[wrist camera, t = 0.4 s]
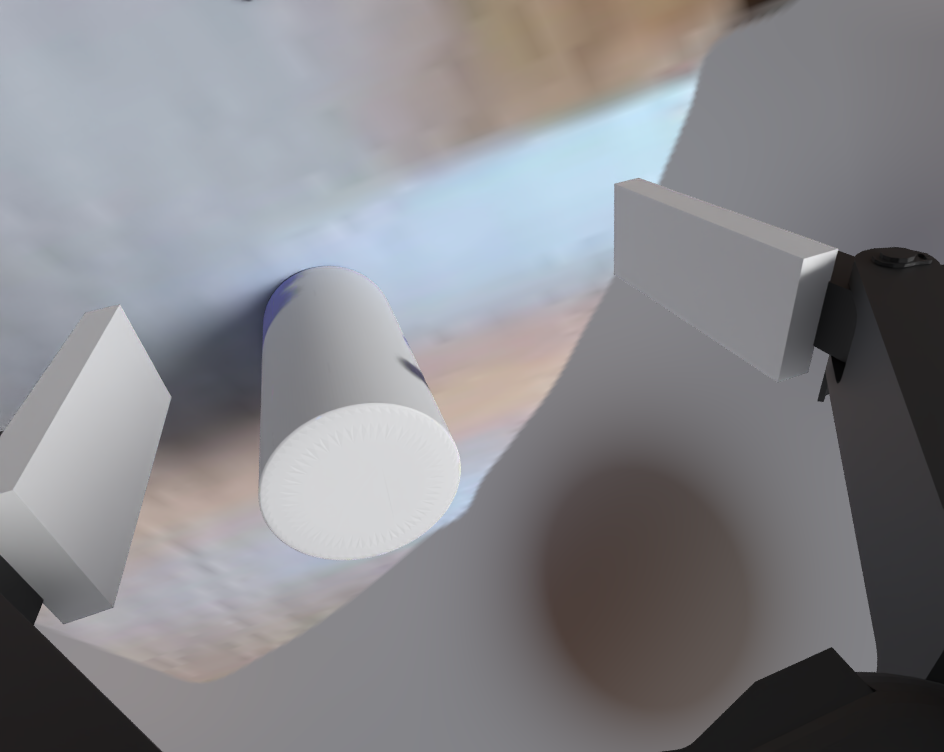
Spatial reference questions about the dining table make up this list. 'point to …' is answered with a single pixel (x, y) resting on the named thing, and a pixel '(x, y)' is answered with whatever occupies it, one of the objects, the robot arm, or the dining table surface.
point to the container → (347, 422)
